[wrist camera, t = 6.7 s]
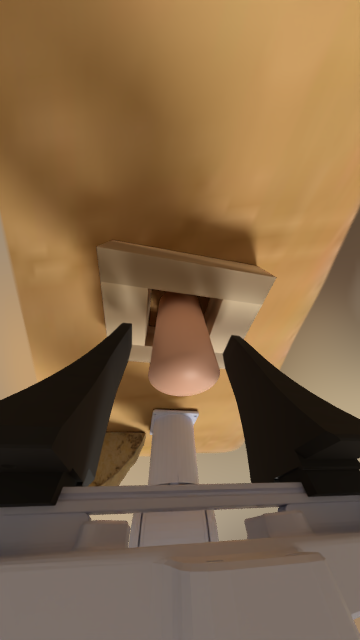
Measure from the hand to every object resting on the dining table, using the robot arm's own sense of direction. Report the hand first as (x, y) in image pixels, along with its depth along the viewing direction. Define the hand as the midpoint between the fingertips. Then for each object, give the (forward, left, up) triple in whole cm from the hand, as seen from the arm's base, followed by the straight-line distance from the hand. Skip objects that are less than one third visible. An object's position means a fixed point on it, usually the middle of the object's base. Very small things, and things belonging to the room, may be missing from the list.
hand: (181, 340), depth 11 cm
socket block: (0, 0, -5) cm, 5 cm away
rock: (-32, +7, -5) cm, 33 cm away
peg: (0, 0, -5) cm, 5 cm away
